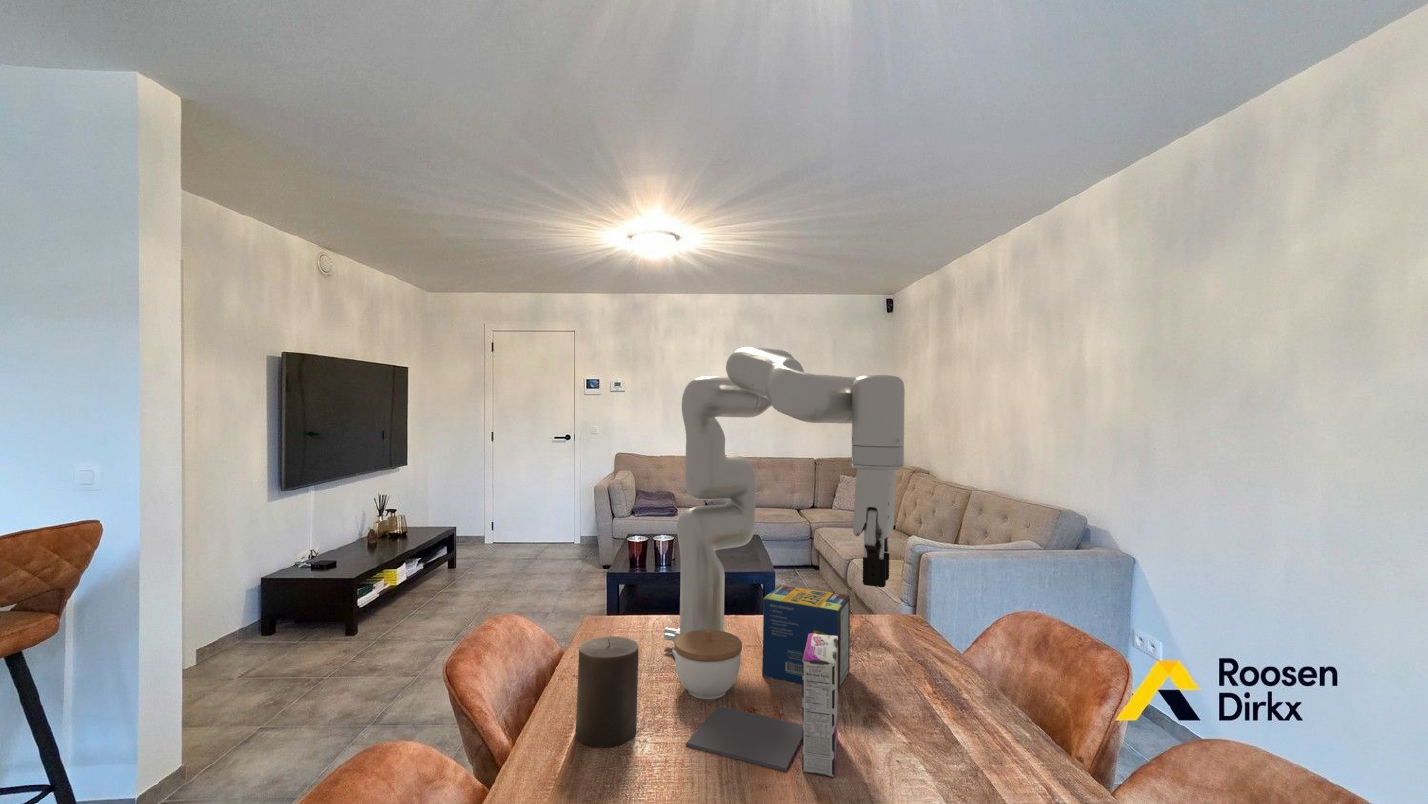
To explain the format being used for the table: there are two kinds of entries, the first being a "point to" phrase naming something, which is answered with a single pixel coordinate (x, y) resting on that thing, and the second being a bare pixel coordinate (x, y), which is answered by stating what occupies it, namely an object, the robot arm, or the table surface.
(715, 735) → the mat
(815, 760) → the candy bar box
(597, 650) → the pillar candle
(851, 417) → the robot arm
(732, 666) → the lidded bowl
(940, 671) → the table surface
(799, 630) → the protein box
